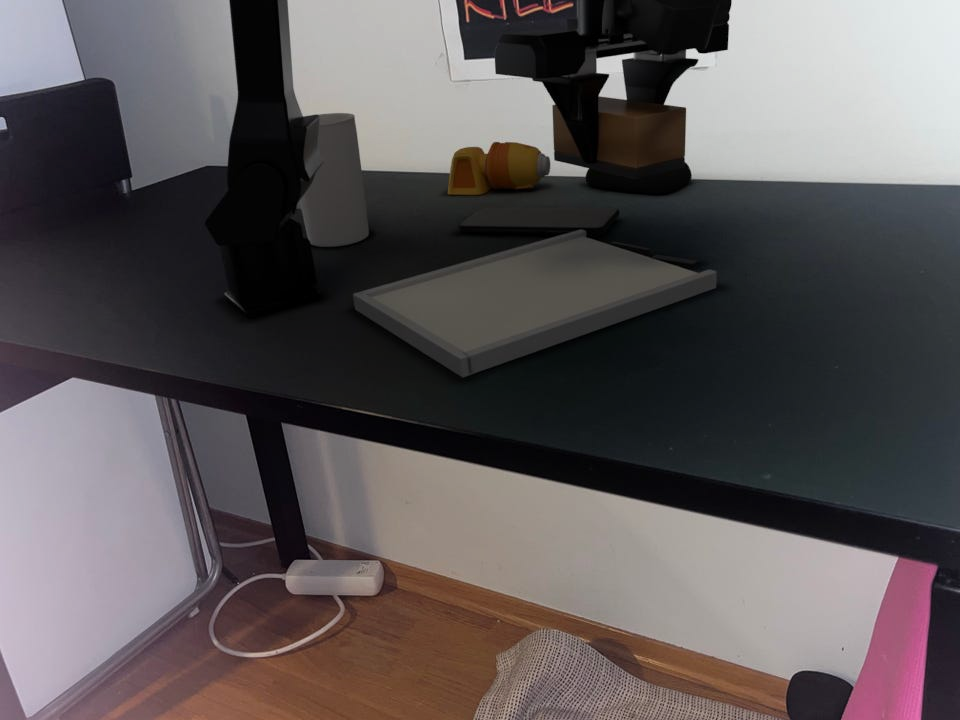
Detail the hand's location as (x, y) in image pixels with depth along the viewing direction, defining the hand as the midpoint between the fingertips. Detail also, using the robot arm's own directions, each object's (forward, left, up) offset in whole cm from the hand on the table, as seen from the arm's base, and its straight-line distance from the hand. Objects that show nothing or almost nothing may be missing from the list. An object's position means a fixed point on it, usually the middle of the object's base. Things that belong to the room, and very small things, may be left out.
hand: (615, 157), depth 69 cm
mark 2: (+5, -2, -9) cm, 10 cm away
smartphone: (+3, +16, -10) cm, 19 cm away
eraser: (0, 0, -1) cm, 1 cm away
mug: (-14, +30, -10) cm, 34 cm away
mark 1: (+3, +2, -9) cm, 10 cm away
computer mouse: (+20, +21, -10) cm, 31 cm away
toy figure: (+9, +32, -10) cm, 34 cm away
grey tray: (-9, 0, -10) cm, 13 cm away
